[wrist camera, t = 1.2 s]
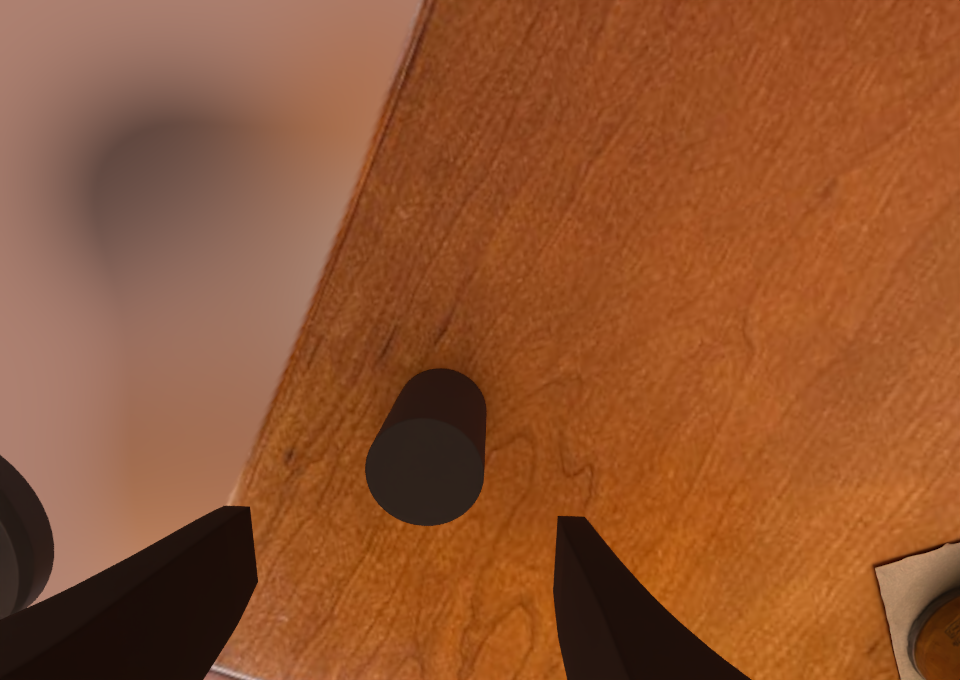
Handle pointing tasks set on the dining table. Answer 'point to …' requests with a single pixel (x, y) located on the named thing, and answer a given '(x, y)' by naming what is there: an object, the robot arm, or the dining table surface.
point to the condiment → (924, 613)
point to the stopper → (430, 450)
